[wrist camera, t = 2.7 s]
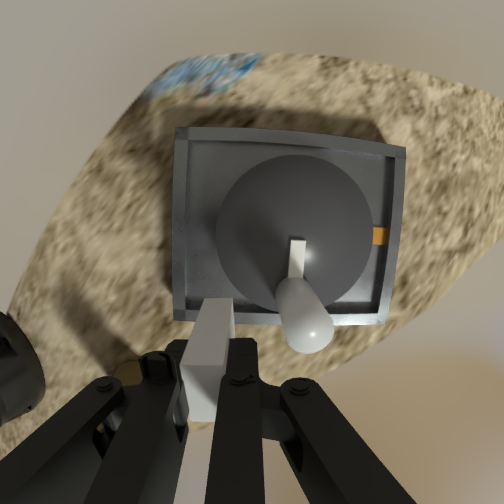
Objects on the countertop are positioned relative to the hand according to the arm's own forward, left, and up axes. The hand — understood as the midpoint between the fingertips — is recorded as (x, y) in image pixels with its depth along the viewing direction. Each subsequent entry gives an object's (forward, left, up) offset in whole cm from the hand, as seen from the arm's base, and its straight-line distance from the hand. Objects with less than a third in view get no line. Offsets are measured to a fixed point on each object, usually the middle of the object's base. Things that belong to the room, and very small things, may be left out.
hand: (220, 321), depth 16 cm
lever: (+5, +4, -8) cm, 10 cm away
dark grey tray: (+5, +4, -10) cm, 12 cm away
